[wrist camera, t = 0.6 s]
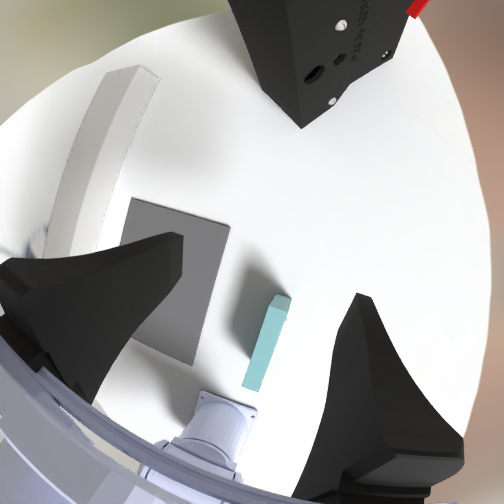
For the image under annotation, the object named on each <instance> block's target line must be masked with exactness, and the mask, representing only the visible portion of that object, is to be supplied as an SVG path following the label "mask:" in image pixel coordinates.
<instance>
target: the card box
mask: <svg viewBox="0 0 504 504" xmlns="http://www.w3.org/2000/svg"><path fill="white" fill-rule="evenodd" d="M290 303H291V298H288V297H285V296H282V295H279V294H276V295H275V297H274V298H273V300H272V302H271V303H270V305H269V307H268V310H267V313H266V316H265V319H264V322H263V325H262V328H261V331H260V334H259V337H258V340H257V343H256V346H255V349H254V352H253V355H252V358H251V360H250V363H249V366H248V369H247V372H246V375H245V378H244V380H243V383H242V387H245V388H248V389H251V390H254V391H257V392H259V389H260V386H261V384H262V383H263V381H264V379H265V376H266V374H267V371H268V368H269V366H270V363H271V360H272V358H273V355H274V352H275V350H276V347H277V344H278V342H279V339H280V336H281V333H282V330H283V328H284V325H285V322H286V319H287V318H286V316H287V313H288V310H289V306H290Z"/></svg>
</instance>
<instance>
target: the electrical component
mask: <svg viewBox="0 0 504 504" xmlns="http://www.w3.org/2000/svg"><path fill="white" fill-rule="evenodd" d="M429 1H430V0H228V2H229V4H230V6H231V9H232V11H233V14H234V16H235V19H236V21H237V23H238V26H239V28H240V31H241V34H242V36H243V39H244V41H245V44H246V46H247V49H248V52H249V54H250V57H251V60H252V62H253V65H254V68H255V71H256V74H257V77H258V79H259V82H260V85H261V88H262V90H263V91H264V92H265V93H266V94H267V95H268V96H269V97H270V98H271V99H272V100H273V101H274V102H275V103H276V104H277V105H278V106H279V107H280V108H281V109H282V110H283V111H284V112H285V113H286V114H287V115H288V116H289V117H290V118H291V119H292V120H293V121H294V122H295V123H296V124H297V125H298V126H299V127H300V128H301V129H302V128H304V127H305V126H306V125H308V124H309V123H310V122H312V121H313V120H315V119H316V118H317V117H319V116H320V115H321V114H323V113H324V112H326V111H327V110H329V109H330V108H331V107H332V106H334V105H335V103H336V102H337V101H338V99H339V98H340V97H341V95H342V94H343V93H344V91H345V90H346V89H347V87H348V86H349V85H350V84H351V83H352V82H354V81H356V80H357V79H359V78H360V77H362V76H363V75H365V74H367V73H368V72H370V71H372V70H373V69H375V68H377V67H378V66H380V65H382V64H383V63H385V62H387V61H388V60H390V59H392V58H393V56H394V53H395V51H396V48H397V46H398V43H399V40H400V38H401V35H402V33H403V30H404V27H405V25H406V22H407V19H408V17H409V15H410V16H411V17H413V18H414V19H416V18H417V16H418V15H419V14H420V12H421V11H422V10H423V8H424V7H425V6H426V5H427V3H428V2H429Z"/></svg>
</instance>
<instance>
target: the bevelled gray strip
mask: <svg viewBox="0 0 504 504" xmlns="http://www.w3.org/2000/svg"><path fill="white" fill-rule="evenodd" d="M159 81H160V79H159V78H158V77H157V76H155V75H154V74H152V73H151V72H149V71H148V70H146V69H145V68H143V67H142V66H135V67H130V68H126V69H121V70H117V71H113V72H109V73H106V75H105V76H104V78H103V80H102V82H101V84H100V86H99V88H98V90H97V92H96V94H95V96H94V98H93V100H92V102H91V104H90V106H89V109H88V111H87V113H86V115H85V117H84V120H83V122H82V124H81V127H80V129H79V132H78V134H77V137H76V139H75V142H74V144H73V147H72V150H71V152H70V155H69V158H68V161H67V164H66V167H65V170H64V173H63V176H62V179H61V183H60V186H59V189H58V193H57V196H56V200H55V204H54V208H53V212H52V216H51V220H50V224H49V229H48V234H47V239H46V244H45V249H44V255H43V259H47V258H61V257H69V256H77V255H84V254H89V253H94V252H96V248H97V244H98V240H99V236H100V233H101V229H102V225H103V222H104V218H105V215H106V212H107V208H108V205H109V202H110V199H111V196H112V193H113V190H114V187H115V184H116V181H117V178H118V175H119V172H120V170H121V167H122V164H123V162H124V159H125V156H126V154H127V151H128V149H129V146H130V144H131V141H132V139H133V137H134V134H135V132H136V129H137V127H138V125H139V123H140V121H141V118H142V116H143V114H144V112H145V110H146V108H147V105H148V103H149V101H150V99H151V97H152V95H153V93H154V91H155V89H156V87H157V85H158V83H159Z"/></svg>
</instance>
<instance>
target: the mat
mask: <svg viewBox="0 0 504 504" xmlns="http://www.w3.org/2000/svg"><path fill="white" fill-rule="evenodd" d="M171 231H172V232H175V233H178V234H181V235H184V240H183V266H182V276H181V278H180V279H179V281H178V282H177V284H176V285H175V287H174V288H173V289H172V291H171V292H170V293H169V294H168V296H167V297H166V298H165V299H164V300H163V301H162V302H161V303H160V304H159V305H158V306H157V308H156V309H155V310H154V311H153V312H152V313H151V314H150V315H149V316H148V317H147V318H146V319H145V320H144V322H143V323H142V324H141V325H140V326H139V327H138V328H137V330H136V331H135V332H134V333H133V335H132V336H131V337H132V338H134V339H135V340H137V341H139V342H141V343H143V344H145V345H147V346H149V347H151V348H153V349H155V350H157V351H160V352H162V353H164V354H166V355H168V356H170V357H172V358H174V359H177V360H179V361H181V362H183V363H186V364H188V365H190V366H192V365H193V362H194V358H195V354H196V350H197V347H198V343H199V339H200V335H201V331H202V328H203V324H204V320H205V316H206V313H207V309H208V305H209V302H210V298H211V295H212V291H213V287H214V284H215V280H216V277H217V273H218V270H219V266H220V263H221V259H222V256H223V252H224V249H225V245H226V242H227V238H228V235H229V232H230V227H227V226H224V225H220V224H217V223H214V222H210V221H207V220H204V219H200V218H197V217H194V216H190V215H187V214H184V213H180V212H177V211H173V210H170V209H166V208H163V207H160V206H156V205H153V204H149V203H146V202H142V201H139V200H135V199H131V202H130V206H129V210H128V213H127V217H126V221H125V225H124V229H123V234H122V238H121V242H120V246H121V245H125V244H129V243H132V242H135V241H138V240H142V239H145V238H148V237H151V236H155V235H158V234H162V233H166V232H171Z"/></svg>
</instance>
